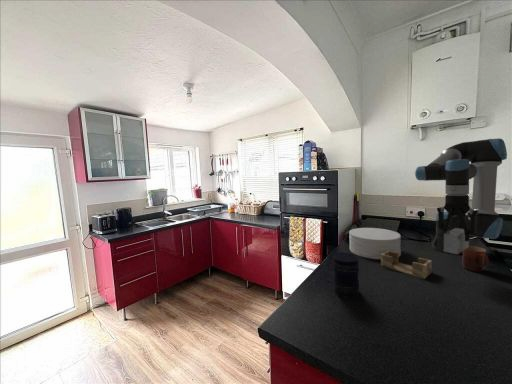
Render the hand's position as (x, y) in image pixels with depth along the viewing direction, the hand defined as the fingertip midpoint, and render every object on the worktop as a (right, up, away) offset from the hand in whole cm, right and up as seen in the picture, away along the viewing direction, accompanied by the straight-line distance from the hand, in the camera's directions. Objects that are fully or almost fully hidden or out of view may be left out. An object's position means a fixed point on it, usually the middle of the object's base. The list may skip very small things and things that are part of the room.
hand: (456, 246), depth 94 cm
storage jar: (-51, -18, -5) cm, 55 cm away
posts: (-14, -15, +12) cm, 24 cm away
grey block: (0, -1, 0) cm, 1 cm away
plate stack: (-15, -13, +39) cm, 44 cm away
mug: (+16, -14, +7) cm, 22 cm away
